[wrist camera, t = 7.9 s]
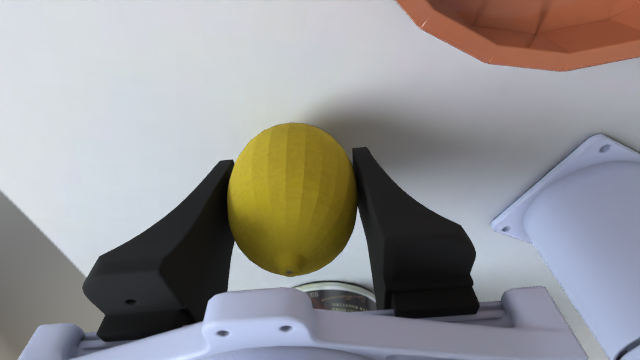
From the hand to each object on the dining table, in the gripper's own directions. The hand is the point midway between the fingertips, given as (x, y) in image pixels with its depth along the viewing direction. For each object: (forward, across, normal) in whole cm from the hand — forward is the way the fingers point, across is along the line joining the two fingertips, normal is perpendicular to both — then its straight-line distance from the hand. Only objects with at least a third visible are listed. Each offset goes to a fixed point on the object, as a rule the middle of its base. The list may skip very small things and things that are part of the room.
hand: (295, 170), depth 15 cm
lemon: (+3, 0, 0) cm, 3 cm away
